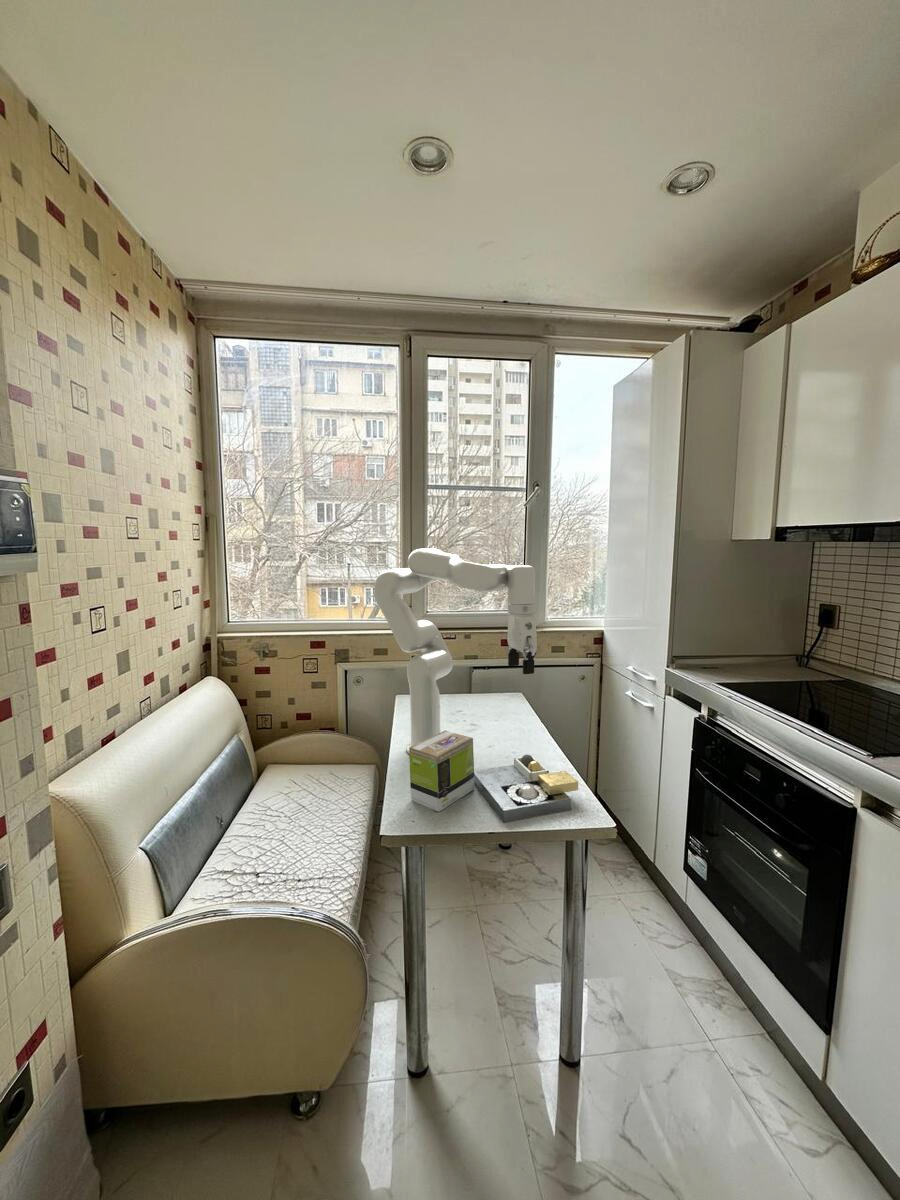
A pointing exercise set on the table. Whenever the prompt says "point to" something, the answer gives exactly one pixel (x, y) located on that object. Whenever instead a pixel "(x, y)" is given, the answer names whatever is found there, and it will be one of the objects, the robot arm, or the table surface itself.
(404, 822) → the table surface
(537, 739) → the table surface
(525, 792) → the steel ball
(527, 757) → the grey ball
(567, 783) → the brass cover
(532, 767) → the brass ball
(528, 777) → the parts tray
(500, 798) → the bearing plate
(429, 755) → the tea box
